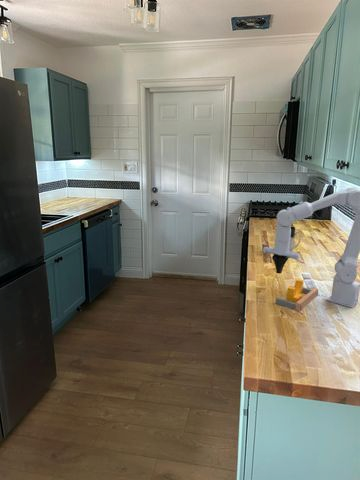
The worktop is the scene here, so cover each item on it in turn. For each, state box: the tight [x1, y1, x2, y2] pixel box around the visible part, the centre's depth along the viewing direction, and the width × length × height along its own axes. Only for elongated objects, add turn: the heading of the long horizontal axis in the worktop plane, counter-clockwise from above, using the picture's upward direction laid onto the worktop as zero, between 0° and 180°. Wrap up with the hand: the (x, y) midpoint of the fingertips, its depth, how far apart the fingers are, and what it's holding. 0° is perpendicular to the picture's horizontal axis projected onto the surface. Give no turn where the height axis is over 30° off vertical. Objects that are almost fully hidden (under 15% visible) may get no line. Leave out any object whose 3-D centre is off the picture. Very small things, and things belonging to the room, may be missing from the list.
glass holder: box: [289, 225, 302, 253], centre depth 191 cm, size 9×14×15 cm, turn 26°
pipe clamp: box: [285, 278, 304, 303], centre depth 134 cm, size 12×4×6 cm, turn 145°
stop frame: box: [275, 284, 319, 312], centre depth 134 cm, size 10×19×3 cm, turn 139°
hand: (278, 272), depth 137 cm, fingers closed
